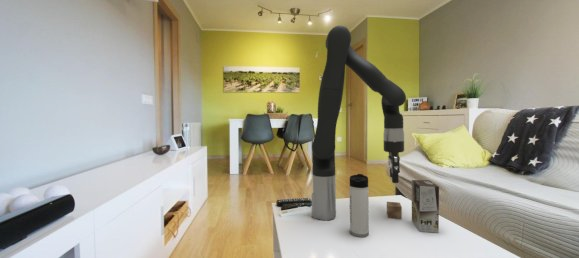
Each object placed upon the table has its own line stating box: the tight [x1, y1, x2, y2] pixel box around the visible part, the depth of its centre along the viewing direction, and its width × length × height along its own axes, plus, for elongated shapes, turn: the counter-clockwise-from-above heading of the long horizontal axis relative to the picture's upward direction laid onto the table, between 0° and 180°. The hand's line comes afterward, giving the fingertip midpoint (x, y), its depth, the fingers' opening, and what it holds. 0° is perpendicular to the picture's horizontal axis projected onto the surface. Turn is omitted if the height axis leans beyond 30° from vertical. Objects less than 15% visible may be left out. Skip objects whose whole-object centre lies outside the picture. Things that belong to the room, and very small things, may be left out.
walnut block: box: [386, 201, 403, 220], centre depth 95 cm, size 5×5×5 cm
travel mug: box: [349, 173, 370, 238], centre depth 81 cm, size 6×7×20 cm
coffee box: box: [411, 179, 440, 233], centre depth 85 cm, size 9×6×16 cm
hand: (394, 179), depth 94 cm, fingers open, 8 cm apart
